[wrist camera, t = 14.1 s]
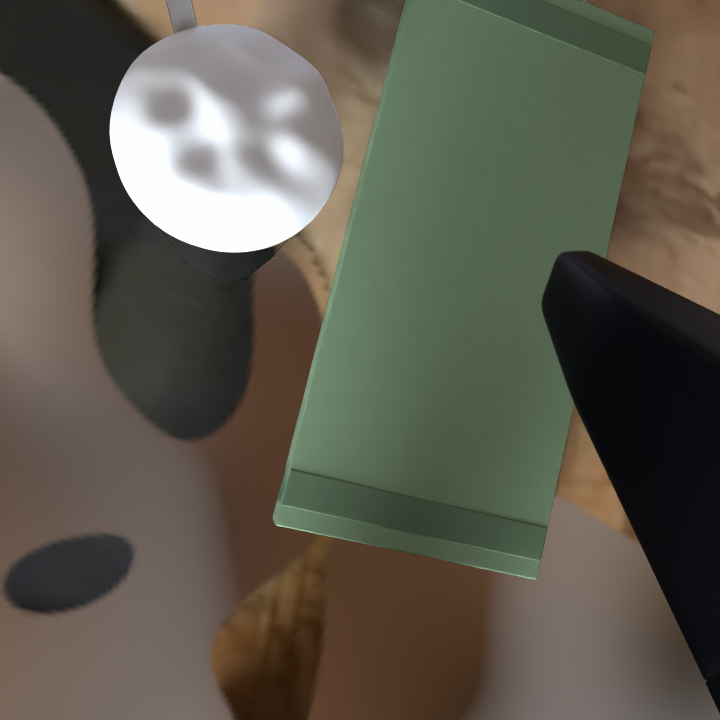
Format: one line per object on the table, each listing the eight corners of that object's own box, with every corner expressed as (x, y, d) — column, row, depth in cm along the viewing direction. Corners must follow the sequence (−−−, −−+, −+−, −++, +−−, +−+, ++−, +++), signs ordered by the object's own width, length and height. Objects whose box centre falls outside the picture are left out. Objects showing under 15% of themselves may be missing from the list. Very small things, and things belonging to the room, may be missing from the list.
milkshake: (255, 121, 21) (287, -108, 11) (317, 273, 21) (400, 178, 12) (119, 164, 20) (25, -45, 10) (185, 323, 20) (154, 265, 11)
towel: (522, 571, 23) (537, 580, 21) (272, 518, 21) (274, 525, 20) (637, 45, 24) (656, 29, 23) (416, -46, 23) (425, -66, 22)
